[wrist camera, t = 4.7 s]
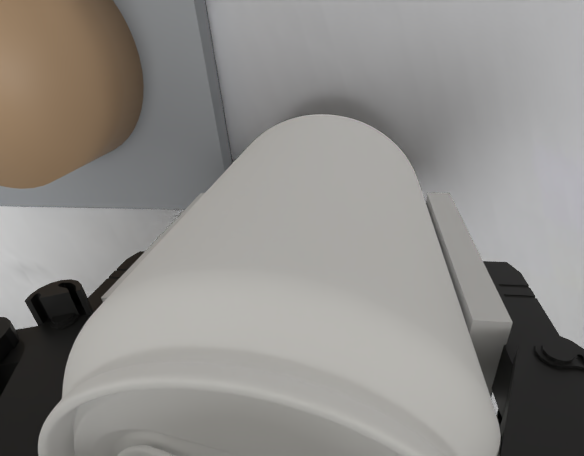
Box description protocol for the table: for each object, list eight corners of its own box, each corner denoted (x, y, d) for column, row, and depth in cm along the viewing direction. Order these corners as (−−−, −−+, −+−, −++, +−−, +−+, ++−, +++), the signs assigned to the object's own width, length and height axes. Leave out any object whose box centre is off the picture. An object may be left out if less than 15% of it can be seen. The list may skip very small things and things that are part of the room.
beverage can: (373, 299, 18) (385, 664, 8) (220, 246, 18) (31, 540, 8) (456, 150, 14) (716, 513, 4) (257, 81, 14) (-44, 249, 4)
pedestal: (13, 198, 24) (-73, 242, 20) (-146, -120, 17) (-354, -173, 12) (238, 200, 21) (199, 254, 16) (172, -193, 13) (60, -308, 9)
